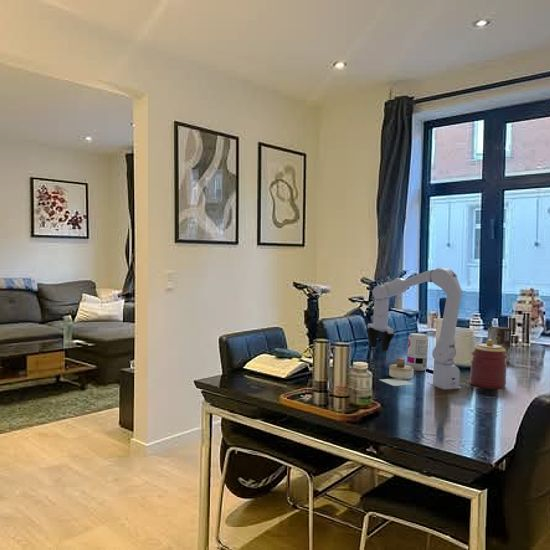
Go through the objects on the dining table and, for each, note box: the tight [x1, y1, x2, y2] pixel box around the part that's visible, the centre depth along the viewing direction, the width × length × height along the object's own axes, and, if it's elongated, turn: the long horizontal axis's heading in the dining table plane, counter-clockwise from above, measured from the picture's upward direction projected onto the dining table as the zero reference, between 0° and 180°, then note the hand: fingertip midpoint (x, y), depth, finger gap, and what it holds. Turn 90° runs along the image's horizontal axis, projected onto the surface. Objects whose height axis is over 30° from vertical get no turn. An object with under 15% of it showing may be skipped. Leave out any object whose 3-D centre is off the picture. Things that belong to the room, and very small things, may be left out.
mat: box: [379, 378, 416, 387], centre depth 199 cm, size 10×10×1 cm
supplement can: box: [406, 332, 429, 372], centre depth 225 cm, size 8×8×15 cm
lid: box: [388, 357, 412, 371], centre depth 209 cm, size 9×9×4 cm
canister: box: [469, 339, 508, 390], centre depth 202 cm, size 13×13×18 cm
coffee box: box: [486, 325, 512, 363], centre depth 252 cm, size 9×6×16 cm
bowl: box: [388, 368, 415, 380], centre depth 209 cm, size 9×9×4 cm
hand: (379, 348), depth 212 cm, fingers open, 7 cm apart
